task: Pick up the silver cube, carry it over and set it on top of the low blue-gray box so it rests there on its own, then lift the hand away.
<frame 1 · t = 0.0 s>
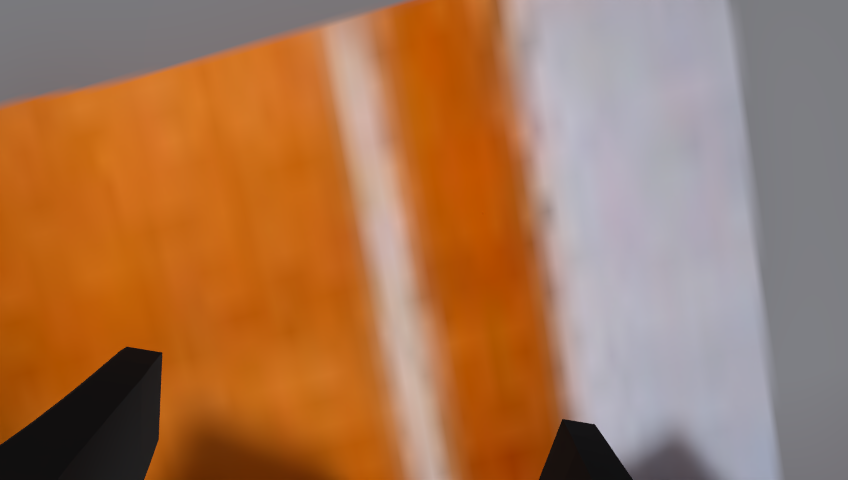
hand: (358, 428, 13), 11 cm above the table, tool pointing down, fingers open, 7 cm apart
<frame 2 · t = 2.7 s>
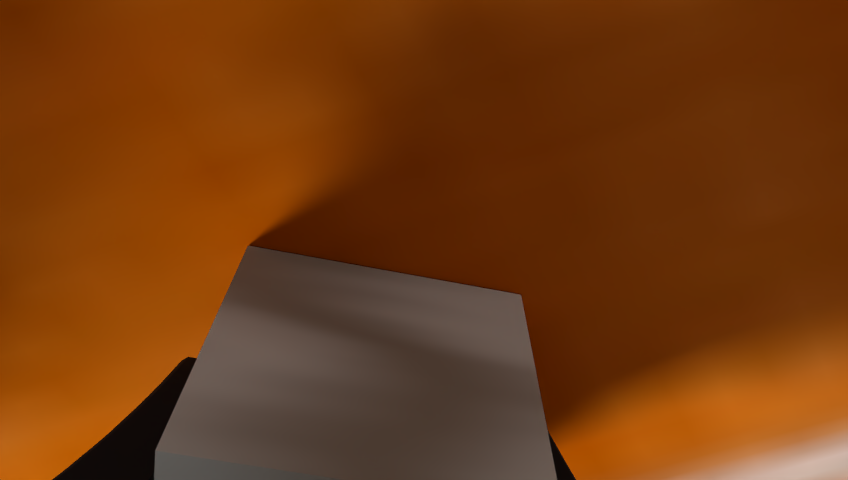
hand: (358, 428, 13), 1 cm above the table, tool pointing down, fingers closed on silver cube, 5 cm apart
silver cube: (364, 377, 14), on the table, touching gripper
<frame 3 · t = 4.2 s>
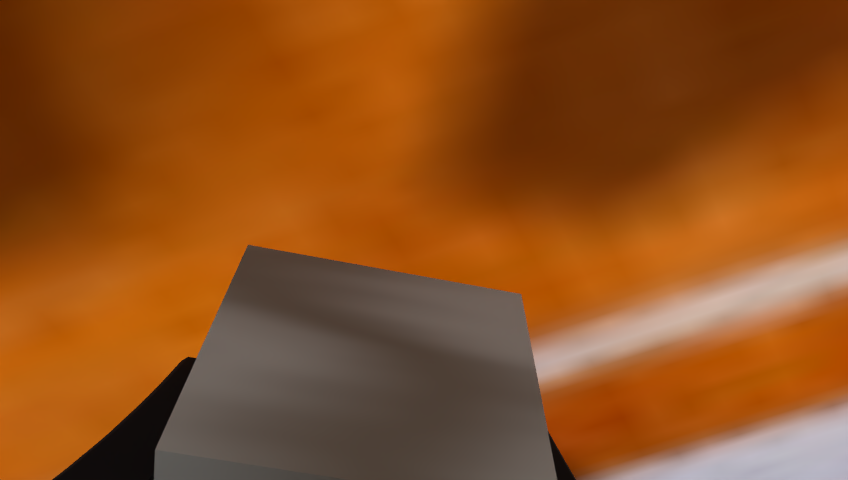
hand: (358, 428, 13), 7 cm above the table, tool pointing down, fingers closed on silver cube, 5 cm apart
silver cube: (364, 377, 14), point 6 cm above the table, touching gripper
when the fingers open (6 cm above the table, at t = 6.1 s): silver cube drops 1 cm, resting on blue-gray box.
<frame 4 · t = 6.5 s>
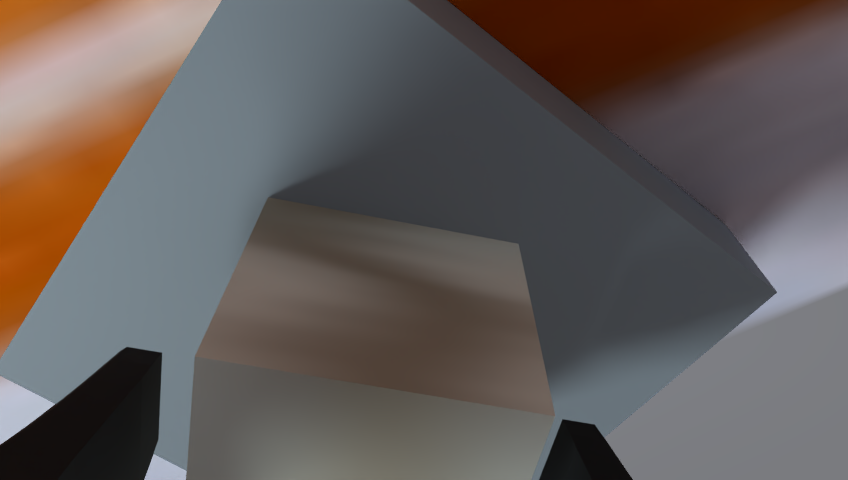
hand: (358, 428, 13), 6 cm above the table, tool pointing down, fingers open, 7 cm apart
blue-gray box: (378, 262, 18), on the table
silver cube: (373, 323, 16), point 3 cm above the table, touching blue-gray box
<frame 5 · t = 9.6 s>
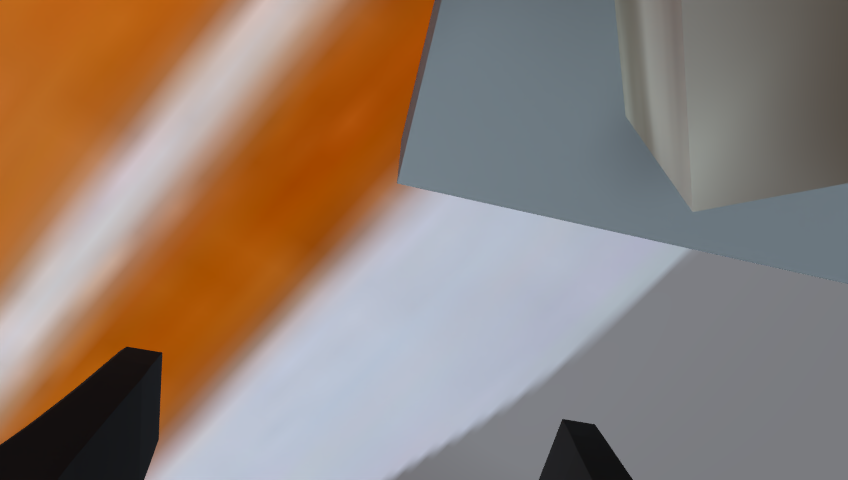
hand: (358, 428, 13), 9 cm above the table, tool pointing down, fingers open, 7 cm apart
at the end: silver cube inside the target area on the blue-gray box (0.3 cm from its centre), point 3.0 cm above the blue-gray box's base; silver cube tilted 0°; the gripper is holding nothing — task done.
